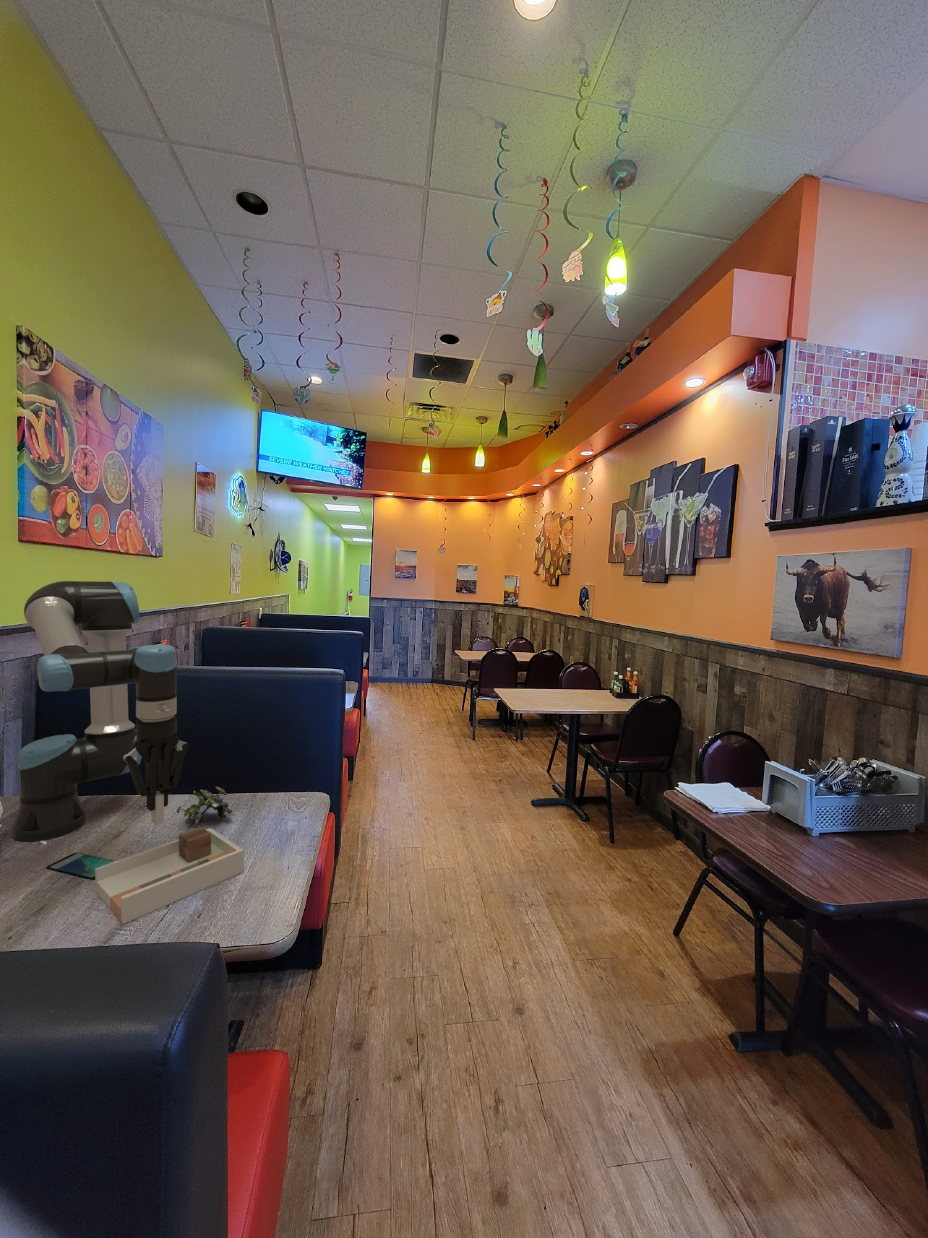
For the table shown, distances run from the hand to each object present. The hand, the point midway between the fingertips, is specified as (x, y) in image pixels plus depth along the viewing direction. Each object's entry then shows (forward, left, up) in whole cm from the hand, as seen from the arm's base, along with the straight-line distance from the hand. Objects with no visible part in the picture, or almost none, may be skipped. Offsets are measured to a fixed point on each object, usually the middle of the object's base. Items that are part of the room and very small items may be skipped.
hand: (157, 822), depth 113 cm
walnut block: (+1, +7, -10) cm, 13 cm away
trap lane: (+4, +1, -13) cm, 13 cm away
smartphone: (-17, -9, -13) cm, 24 cm away
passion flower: (-19, +19, -13) cm, 30 cm away
